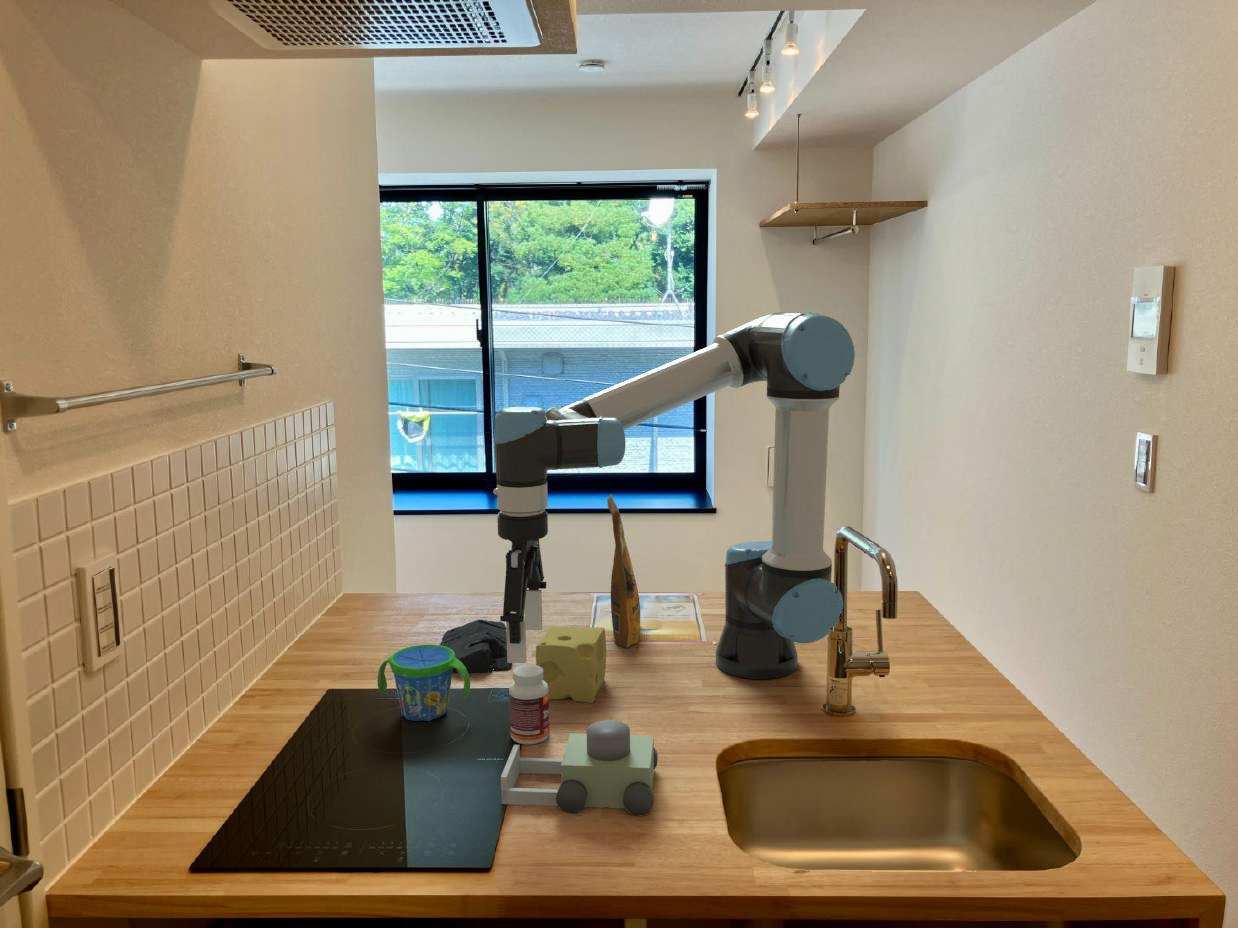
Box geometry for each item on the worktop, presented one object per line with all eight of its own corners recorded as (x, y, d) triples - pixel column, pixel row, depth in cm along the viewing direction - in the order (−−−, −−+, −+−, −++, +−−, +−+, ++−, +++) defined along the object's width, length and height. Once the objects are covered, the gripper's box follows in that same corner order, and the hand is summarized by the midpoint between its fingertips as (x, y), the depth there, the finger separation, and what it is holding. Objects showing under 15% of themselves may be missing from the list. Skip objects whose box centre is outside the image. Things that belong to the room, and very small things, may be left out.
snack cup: (482, 705, 155) (479, 648, 153) (452, 733, 145) (449, 673, 144) (400, 694, 160) (397, 639, 158) (367, 721, 150) (363, 662, 148)
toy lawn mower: (657, 768, 134) (657, 711, 132) (653, 816, 121) (652, 753, 120) (517, 764, 135) (515, 707, 134) (499, 810, 123) (496, 748, 122)
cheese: (594, 704, 155) (593, 648, 153) (533, 699, 157) (531, 644, 156) (607, 679, 165) (606, 626, 163) (550, 675, 167) (548, 623, 166)
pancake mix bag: (604, 651, 178) (602, 511, 173) (609, 617, 197) (607, 490, 192) (639, 651, 178) (638, 511, 173) (641, 617, 196) (640, 489, 191)
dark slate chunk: (516, 631, 190) (515, 609, 190) (511, 674, 169) (510, 650, 168) (442, 634, 189) (440, 612, 189) (427, 678, 168) (426, 653, 167)
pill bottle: (552, 743, 142) (550, 676, 140) (513, 748, 140) (510, 680, 138) (546, 725, 148) (544, 660, 146) (508, 729, 146) (506, 664, 144)
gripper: (514, 492, 150) (517, 616, 154) (477, 530, 126) (482, 676, 129) (559, 493, 149) (562, 617, 153) (531, 531, 125) (535, 678, 129)
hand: (525, 645), depth 141 cm, fingers open, 13 cm apart
